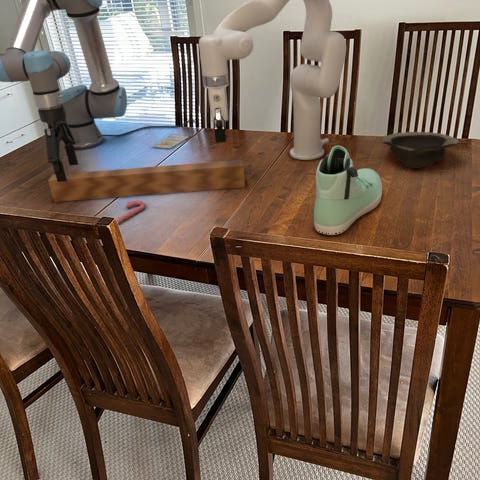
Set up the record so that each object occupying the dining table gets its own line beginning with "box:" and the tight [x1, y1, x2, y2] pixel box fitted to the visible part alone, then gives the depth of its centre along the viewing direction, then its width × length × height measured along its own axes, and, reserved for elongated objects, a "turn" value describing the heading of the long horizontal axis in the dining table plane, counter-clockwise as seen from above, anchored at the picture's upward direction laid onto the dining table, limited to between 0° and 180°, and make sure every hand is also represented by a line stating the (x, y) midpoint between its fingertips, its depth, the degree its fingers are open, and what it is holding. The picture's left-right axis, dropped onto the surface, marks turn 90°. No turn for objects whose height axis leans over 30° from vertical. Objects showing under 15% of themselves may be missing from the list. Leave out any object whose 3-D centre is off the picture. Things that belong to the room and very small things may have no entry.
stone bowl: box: [381, 131, 461, 169], centre depth 164 cm, size 25×25×9 cm
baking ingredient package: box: [152, 134, 189, 149], centre depth 198 cm, size 9×1×15 cm
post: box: [47, 159, 246, 203], centre depth 157 cm, size 62×5×8 cm, turn 92°
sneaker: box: [313, 145, 383, 236], centre depth 133 cm, size 14×35×20 cm, turn 152°
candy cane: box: [115, 200, 146, 225], centre depth 145 cm, size 6×15×2 cm, turn 145°
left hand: (68, 172), depth 154 cm, fingers open, 13 cm apart
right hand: (221, 136), depth 150 cm, fingers open, 9 cm apart
